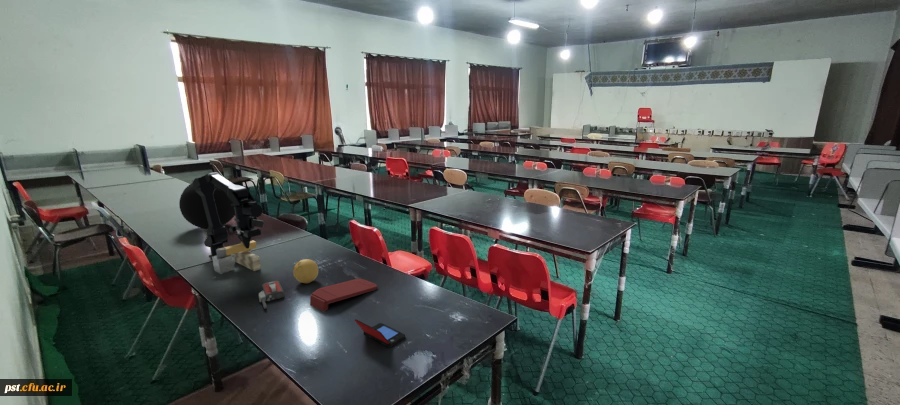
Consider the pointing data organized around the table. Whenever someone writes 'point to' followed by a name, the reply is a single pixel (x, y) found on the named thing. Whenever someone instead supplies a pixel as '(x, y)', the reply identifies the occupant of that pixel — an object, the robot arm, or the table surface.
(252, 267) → the grey-beige crossed blocks
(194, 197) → the sphere
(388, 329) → the handheld game console
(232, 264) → the jamb post
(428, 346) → the table surface
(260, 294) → the walkie-talkie
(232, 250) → the bar
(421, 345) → the table surface
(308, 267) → the stress ball
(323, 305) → the dark red long block
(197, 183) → the robot arm
